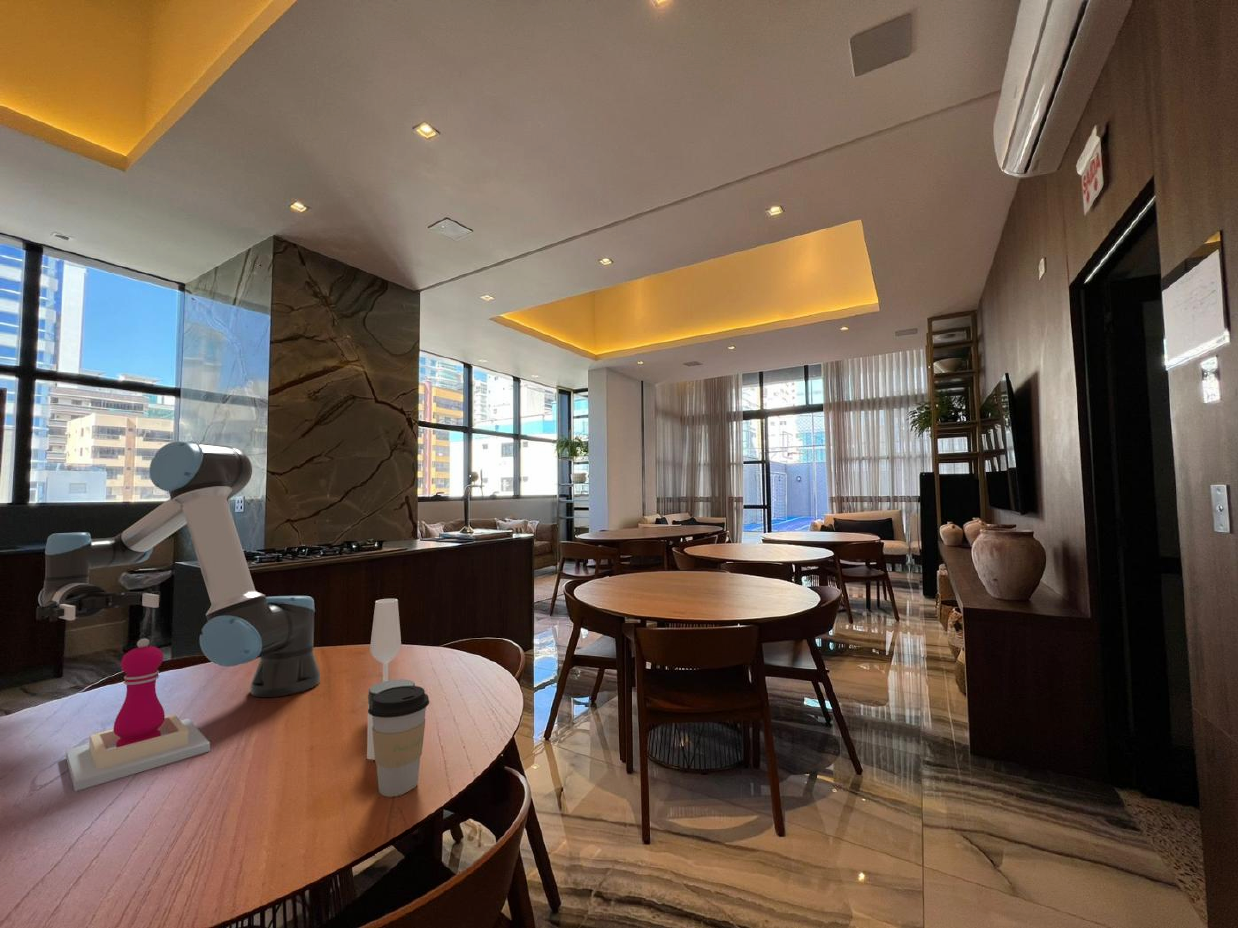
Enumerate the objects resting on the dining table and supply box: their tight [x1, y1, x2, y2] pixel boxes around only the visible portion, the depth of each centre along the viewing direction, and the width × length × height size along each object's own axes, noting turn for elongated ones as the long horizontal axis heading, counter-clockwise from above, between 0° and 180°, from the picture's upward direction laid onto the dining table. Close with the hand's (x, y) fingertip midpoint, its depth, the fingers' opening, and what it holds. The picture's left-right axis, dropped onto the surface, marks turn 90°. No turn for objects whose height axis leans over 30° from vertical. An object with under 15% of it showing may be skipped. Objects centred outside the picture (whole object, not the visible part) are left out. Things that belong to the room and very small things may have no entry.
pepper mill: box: [113, 637, 166, 748], centre depth 101 cm, size 7×7×20 cm
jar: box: [366, 678, 416, 759], centre depth 100 cm, size 9×8×12 cm
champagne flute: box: [369, 598, 402, 682], centre depth 123 cm, size 7×7×24 cm
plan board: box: [65, 714, 211, 792], centre depth 100 cm, size 18×18×4 cm
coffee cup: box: [367, 685, 430, 798], centre depth 88 cm, size 9×9×15 cm
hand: (116, 606), depth 113 cm, fingers open, 13 cm apart
